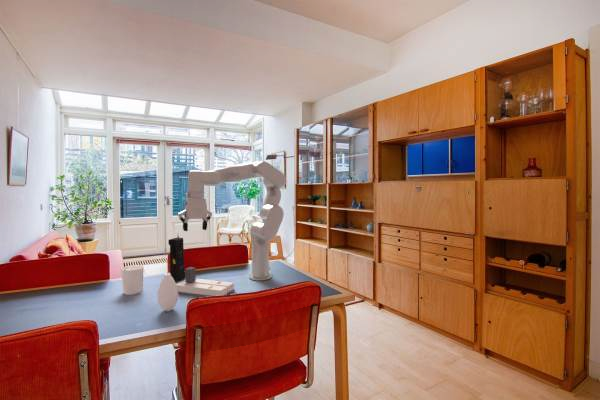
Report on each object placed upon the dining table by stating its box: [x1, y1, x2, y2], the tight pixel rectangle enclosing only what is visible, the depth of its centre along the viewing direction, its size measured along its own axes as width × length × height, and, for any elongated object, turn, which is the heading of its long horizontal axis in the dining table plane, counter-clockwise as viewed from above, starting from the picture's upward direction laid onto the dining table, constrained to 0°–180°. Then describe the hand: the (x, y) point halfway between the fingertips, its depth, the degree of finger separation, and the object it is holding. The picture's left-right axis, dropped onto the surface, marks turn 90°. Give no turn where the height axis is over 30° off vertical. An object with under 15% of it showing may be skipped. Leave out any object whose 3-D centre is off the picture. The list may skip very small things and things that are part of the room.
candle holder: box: [120, 264, 145, 296], centre depth 153 cm, size 10×10×12 cm
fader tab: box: [184, 266, 197, 283], centre depth 156 cm, size 4×3×10 cm
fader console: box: [176, 277, 235, 298], centre depth 154 cm, size 12×26×4 cm, turn 72°
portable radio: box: [167, 233, 186, 282], centre depth 173 cm, size 8×6×25 cm
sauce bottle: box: [157, 267, 179, 312], centre depth 131 cm, size 8×8×18 cm
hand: (195, 230), depth 155 cm, fingers open, 9 cm apart
